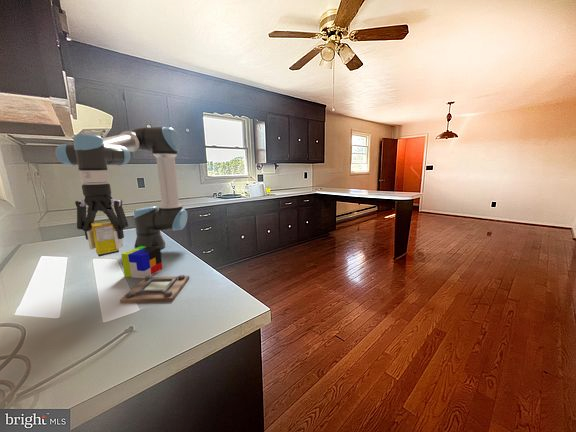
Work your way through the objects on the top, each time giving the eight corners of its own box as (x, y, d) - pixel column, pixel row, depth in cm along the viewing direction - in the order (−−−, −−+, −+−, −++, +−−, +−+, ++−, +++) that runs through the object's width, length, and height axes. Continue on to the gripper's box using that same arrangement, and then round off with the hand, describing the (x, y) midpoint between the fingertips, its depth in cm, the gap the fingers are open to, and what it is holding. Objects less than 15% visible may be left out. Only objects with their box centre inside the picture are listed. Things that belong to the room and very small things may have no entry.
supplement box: (116, 248, 89) (111, 220, 87) (119, 252, 85) (114, 222, 82) (95, 252, 85) (90, 222, 83) (98, 257, 81) (92, 225, 78)
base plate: (146, 279, 96) (145, 274, 96) (189, 278, 98) (188, 273, 97) (120, 303, 80) (119, 297, 79) (172, 301, 81) (171, 295, 80)
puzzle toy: (145, 278, 98) (142, 255, 96) (124, 276, 100) (121, 253, 98) (162, 268, 107) (160, 247, 105) (143, 266, 109) (140, 246, 107)
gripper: (52, 184, 75) (66, 252, 80) (121, 184, 77) (131, 250, 82) (71, 182, 83) (83, 245, 87) (134, 182, 84) (143, 243, 89)
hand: (106, 247), depth 84 cm, fingers closed on supplement box, 8 cm apart
